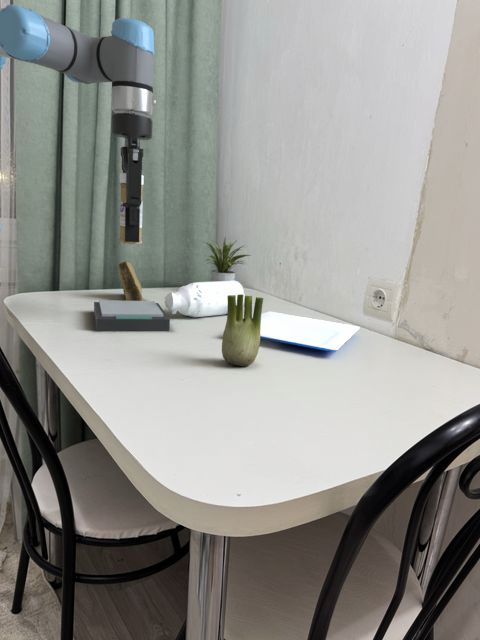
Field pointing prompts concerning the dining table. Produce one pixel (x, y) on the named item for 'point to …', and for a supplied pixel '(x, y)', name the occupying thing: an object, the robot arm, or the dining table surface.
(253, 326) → the fennel bulb
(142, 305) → the scale
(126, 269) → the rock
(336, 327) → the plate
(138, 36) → the robot arm
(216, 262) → the house plant
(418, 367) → the dining table surface
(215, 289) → the white bottle
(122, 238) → the sprinkles bottle
